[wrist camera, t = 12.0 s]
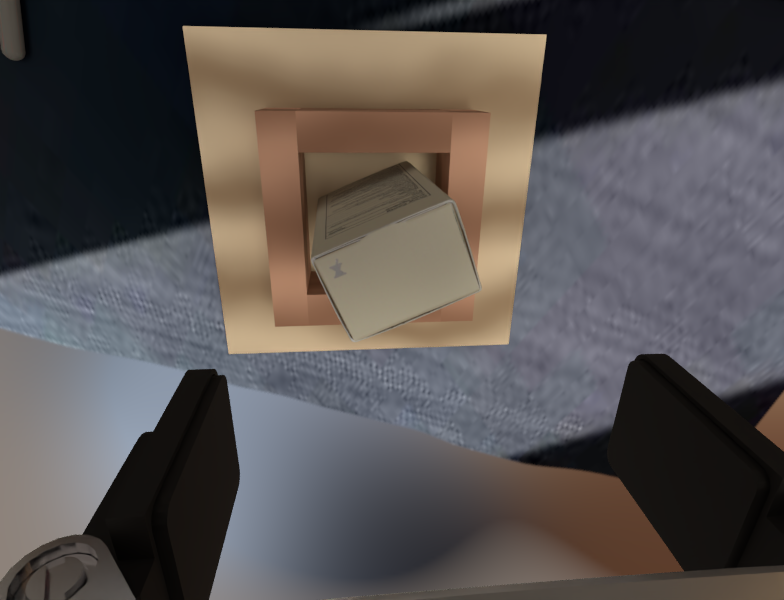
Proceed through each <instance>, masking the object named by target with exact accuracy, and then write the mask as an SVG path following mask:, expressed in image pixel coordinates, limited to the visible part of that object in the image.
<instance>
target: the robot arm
mask: <svg viewBox="0 0 784 600" xmlns="http://www.w3.org/2000/svg"><path fill="white" fill-rule="evenodd" d="M607 456H608V461H609V463H610V465H611V467H612V468H613V470H614V471H615V473H616V474H617V476H618V477H619V478H620V480H621V481H622V483H623V484H624V486H625V487H626V488H627V490H628V491H629V493H630V494H631V496H632V497H633V498H634V500H635V501H636V502H637V504H638V506H639V507H640V508H641V510H642V511H643V513H644V514H645V516H646V517H647V518H648V520H649V521H650V523H651V524H652V525H653V527H654V528H655V530H656V531H657V533H658V534H659V535H660V537H661V538H662V540H663V541H664V543H665V544H666V545H667V547H668V548H669V550H670V551H671V553H672V554H673V556H674V557H675V558H676V560H677V561H678V563H679V564H680V566H681V567H682V568H683V570H684V572H670V573H656V574H641V575H627V576H614V577H600V578H586V579H573V580H560V581H547V582H533V583H521V584H508V585H495V586H482V587H469V588H457V589H445V590H432V591H421V592H408V593H396V594H384V595H372V596H360V597H348V598H337V599H336V598H335V599H325V600H784V452H783V451H782V450H781V449H780V448H779V447H777V446H776V445H775V444H774V443H773V442H771V441H770V440H769V439H768V438H766V437H765V436H764V435H763V434H762V433H761V432H759V431H758V430H757V429H756V428H755V427H753V426H752V425H751V424H750V423H749V422H747V421H746V420H745V419H744V418H743V417H741V416H740V415H739V414H738V413H737V412H735V411H734V410H733V409H732V408H731V407H729V406H728V405H727V404H726V403H725V402H723V401H722V400H721V399H720V398H719V397H717V396H716V395H715V394H714V393H713V392H711V391H710V390H709V389H708V388H707V387H705V386H704V385H703V384H702V383H701V382H699V381H698V380H697V379H696V378H695V377H693V376H692V375H691V374H690V373H689V372H687V371H686V370H685V369H684V368H683V367H681V366H680V365H679V364H678V363H677V362H675V361H674V360H673V359H672V358H671V357H669V356H668V355H666V354H641V355H638V356H637V357H636V358H635V361H632V362H630V364H629V366H628V369H627V373H626V377H625V381H624V385H623V389H622V393H621V397H620V401H619V405H618V409H617V413H616V417H615V421H614V425H613V429H612V433H611V437H610V441H609V445H608V450H607ZM239 480H240V469H239V462H238V455H237V448H236V441H235V434H234V427H233V420H232V413H231V406H230V400H229V393H228V386H227V380H226V377H225V375H218V374H217V371H216V370H215V369H199V370H187V372H186V373H185V375H184V377H183V378H182V380H181V382H180V384H179V386H178V388H177V389H176V391H175V393H174V395H173V397H172V399H171V400H170V402H169V404H168V406H167V407H166V409H165V411H164V413H163V415H162V417H161V418H160V420H159V422H158V424H157V426H156V427H155V429H154V431H153V432H145V433H143V434H142V435H141V436H140V437H139V439H138V440H137V442H136V444H135V445H134V447H133V449H132V450H131V452H130V454H129V455H128V457H127V459H126V461H125V462H124V464H123V466H122V468H121V469H120V471H119V473H118V474H117V476H116V478H115V479H114V481H113V483H112V485H111V486H110V488H109V490H108V492H107V493H106V495H105V497H104V498H103V500H102V502H101V504H100V505H99V507H98V509H97V511H96V512H95V514H94V516H93V517H92V519H91V521H90V523H89V524H88V526H87V528H86V529H85V531H84V533H83V534H82V535H71V536H67V537H62V538H58V539H56V540H53V541H51V542H49V543H46V544H44V545H42V546H40V547H39V548H37V549H35V550H33V551H32V552H30V553H29V554H27V555H25V556H24V557H23V558H22V559H21V560H20V561H19V562H17V563H16V564H15V565H14V566H13V567H12V568H11V569H10V570H9V571H8V572H7V574H6V575H5V576H4V578H3V579H2V580H1V581H0V600H209V597H210V593H211V589H212V586H213V582H214V578H215V574H216V570H217V566H218V563H219V559H220V555H221V551H222V548H223V543H224V540H225V536H226V532H227V529H228V525H229V521H230V517H231V513H232V509H233V505H234V502H235V498H236V494H237V491H238V486H239Z"/></svg>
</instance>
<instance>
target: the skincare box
mask: <svg viewBox="0 0 784 600" xmlns="http://www.w3.org/2000/svg"><path fill="white" fill-rule="evenodd" d="M311 263H312V265H313V267H314V269H315V271H316V273H317V275H318V277H319V280H320V282H321V284H322V286H323V288H324V290H325V292H326V294H327V296H328V298H329V300H330V303H331V305H332V307H333V308H334V310H335V312H336V314H337V316H338V318H339V320H340V322H341V324H342V326H343V328H344V329H345V331H346V333H347V335H348V336H349V338H350V340H351V341H352V342H358V341H361V340H364V339H367V338H370V337H373V336H375V335H378V334H381V333H383V332H386V331H389V330H391V329H394V328H396V327H399V326H401V325H404V324H406V323H408V322H411V321H414V320H416V319H418V318H421V317H423V316H425V315H428V314H430V313H432V312H435V311H437V310H439V309H442V308H444V307H446V306H449V305H451V304H453V303H455V302H457V301H460V300H462V299H464V298H466V297H469V296H471V295H473V294H475V293H478V292H480V291H481V290H482V285H481V282H480V279H479V276H478V272H477V268H476V265H475V261H474V258H473V254H472V251H471V248H470V245H469V241H468V238H467V235H466V231H465V228H464V225H463V222H462V219H461V216H460V213H459V210H458V207H457V204H456V202H455V201H454V200H453V199H452V198H450V197H449V196H448V195H447V194H446V193H444V192H443V191H442V190H441V189H440V188H439V187H437V186H436V185H435V184H434V183H433V182H431V181H430V180H429V179H428V178H427V177H426V176H424V175H423V174H422V173H421V172H420V171H419V170H417V169H416V168H415V167H414V166H413V165H412V164H410V163H409V162H408V161H404V162H401V163H399V164H396V165H393V166H391V167H388V168H386V169H383V170H381V171H379V172H376V173H374V174H371V175H369V176H367V177H364V178H362V179H360V180H357V181H355V182H353V183H351V184H348V185H346V186H344V187H342V188H339V189H337V190H335V191H333V192H331V193H329V194H327V195H325V196H322V197H320V198H319V199H318V205H317V214H316V222H315V229H314V237H313V246H312V254H311Z"/></svg>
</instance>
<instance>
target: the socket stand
mask: <svg viewBox="0 0 784 600" xmlns="http://www.w3.org/2000/svg"><path fill="white" fill-rule="evenodd" d="M183 33H184V40H185V47H186V54H187V62H188V69H189V76H190V83H191V90H192V97H193V104H194V111H195V118H196V125H197V132H198V139H199V146H200V153H201V160H202V168H203V175H204V182H205V189H206V196H207V203H208V210H209V217H210V224H211V231H212V238H213V245H214V252H215V259H216V267H217V274H218V281H219V288H220V295H221V302H222V309H223V316H224V323H225V330H226V337H227V344H228V351H229V354H244V353H273V352H301V351H330V350H358V349H387V348H415V347H443V346H472V345H500V344H508V343H509V335H510V327H511V319H512V311H513V303H514V295H515V287H516V279H517V271H518V262H519V254H520V246H521V238H522V230H523V222H524V214H525V206H526V198H527V190H528V181H529V173H530V165H531V157H532V149H533V141H534V133H535V125H536V117H537V109H538V100H539V92H540V84H541V76H542V68H543V60H544V52H545V44H546V36H547V35H541V34H499V33H457V32H415V31H373V30H330V29H288V28H246V27H204V26H183ZM404 161H408V162H409V163H410V164H412V165H413V166H414V167H415V168H416V169H417V170H419V171H420V172H421V173H422V174H423V175H424V176H426V177H427V178H428V179H429V180H430V181H431V182H433V183H434V184H435V185H436V186H437V187H439V188H440V189H441V190H442V191H443V192H444V193H446V194H447V195H448V196H449V197H450V198H452V199H453V200H454V201H455V202H456V204H457V207H458V210H459V213H460V216H461V219H462V222H463V225H464V228H465V231H466V235H467V238H468V241H469V245H470V248H471V251H472V254H473V258H474V261H475V265H476V268H477V272H478V276H479V279H480V282H481V285H482V290H481V291H480V292H478V293H475V294H473V295H471V296H469V297H466V298H464V299H462V300H460V301H457V302H455V303H453V304H451V305H449V306H446V307H444V308H442V309H439V310H437V311H435V312H432V313H430V314H428V315H425V316H423V317H421V318H418V319H416V320H414V321H411V322H408V323H406V324H404V325H401V326H399V327H396V328H394V329H391V330H389V331H386V332H383V333H381V334H378V335H375V336H373V337H370V338H367V339H364V340H361V341H358V342H352V341H351V340H350V338H349V336H348V335H347V333H346V331H345V329H344V328H343V326H342V324H341V322H340V320H339V318H338V316H337V314H336V312H335V310H334V308H333V307H332V305H331V303H330V300H329V298H328V296H327V294H326V292H325V290H324V288H323V286H322V284H321V282H320V280H319V277H318V275H317V273H316V271H315V269H314V267H313V265H312V263H311V254H312V246H313V237H314V229H315V222H316V214H317V205H318V199H319V198H320V197H322V196H325V195H327V194H329V193H331V192H333V191H335V190H337V189H339V188H342V187H344V186H346V185H348V184H351V183H353V182H355V181H357V180H360V179H362V178H364V177H367V176H369V175H371V174H374V173H376V172H379V171H381V170H383V169H386V168H388V167H391V166H393V165H396V164H399V163H401V162H404Z"/></svg>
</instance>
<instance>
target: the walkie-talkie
mask: <svg viewBox="0 0 784 600" xmlns="http://www.w3.org/2000/svg"><path fill="white" fill-rule="evenodd" d="M0 43H1V50H2V52H3V54H4V55H5V56H6V57H8V58H9V59H11V60H15V61H18V60H21V59H23V58H24V57H25V54H26V52H25V43H24V34H23V25H22V16H21V6H20V0H0Z"/></svg>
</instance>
